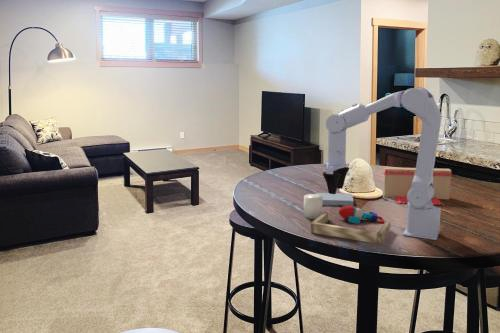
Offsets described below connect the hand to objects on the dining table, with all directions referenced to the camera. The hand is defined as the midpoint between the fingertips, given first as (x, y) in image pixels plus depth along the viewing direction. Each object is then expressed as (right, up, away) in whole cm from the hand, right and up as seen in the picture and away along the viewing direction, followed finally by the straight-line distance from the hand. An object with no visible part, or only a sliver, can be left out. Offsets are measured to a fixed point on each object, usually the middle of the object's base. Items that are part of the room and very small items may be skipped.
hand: (335, 191), depth 145 cm
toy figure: (+9, -10, +1) cm, 14 cm away
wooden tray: (+3, -12, -9) cm, 15 cm away
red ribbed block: (+36, -5, +23) cm, 43 cm away
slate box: (+4, -6, +23) cm, 24 cm away
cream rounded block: (-7, -9, +6) cm, 13 cm away
